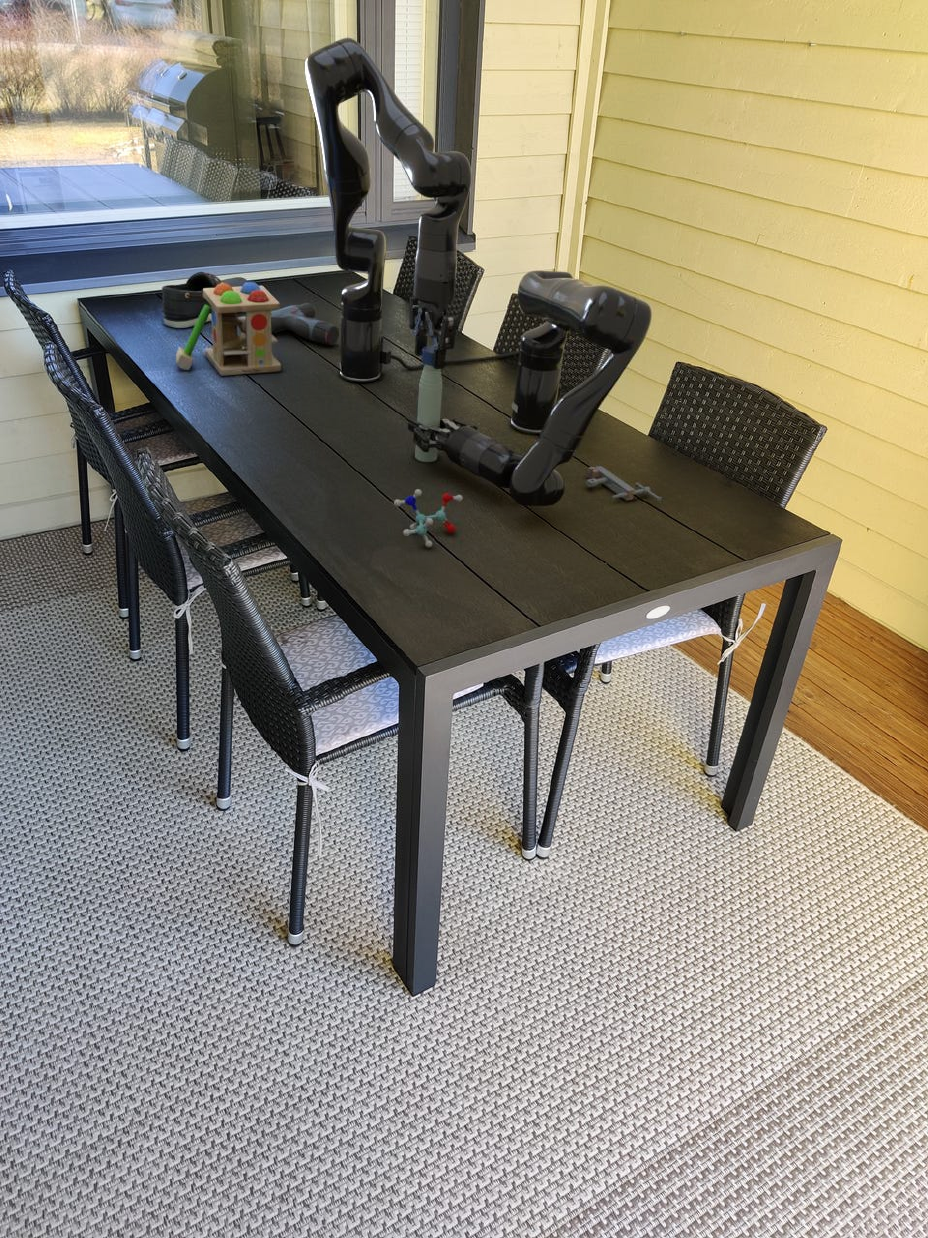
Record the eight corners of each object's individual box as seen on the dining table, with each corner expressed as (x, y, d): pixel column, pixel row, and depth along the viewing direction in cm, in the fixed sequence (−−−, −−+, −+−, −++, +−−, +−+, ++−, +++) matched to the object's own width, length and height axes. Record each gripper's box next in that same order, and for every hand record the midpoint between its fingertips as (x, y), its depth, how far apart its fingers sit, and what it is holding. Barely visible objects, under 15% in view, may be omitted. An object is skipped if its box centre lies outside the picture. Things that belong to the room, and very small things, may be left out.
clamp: (576, 469, 194) (616, 461, 198) (574, 479, 195) (614, 471, 199) (622, 503, 183) (664, 494, 188) (620, 513, 184) (661, 504, 189)
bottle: (411, 458, 197) (417, 352, 185) (420, 450, 200) (427, 346, 188) (431, 464, 196) (438, 357, 183) (440, 455, 199) (448, 351, 187)
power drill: (365, 313, 253) (305, 296, 261) (318, 330, 240) (256, 311, 248) (364, 334, 256) (305, 316, 264) (318, 351, 243) (257, 332, 251)
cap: (438, 367, 185) (439, 354, 183) (418, 363, 186) (419, 350, 184) (446, 361, 188) (447, 348, 187) (426, 356, 189) (427, 344, 188)
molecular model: (452, 541, 163) (433, 483, 162) (403, 556, 167) (383, 500, 165) (474, 530, 174) (456, 475, 172) (427, 544, 177) (409, 492, 176)
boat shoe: (271, 306, 270) (269, 267, 265) (181, 330, 246) (177, 288, 241) (236, 297, 276) (233, 259, 271) (146, 320, 252) (141, 279, 247)
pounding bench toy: (183, 379, 220) (176, 299, 210) (169, 357, 231) (162, 280, 221) (282, 371, 230) (280, 294, 220) (264, 350, 240) (262, 276, 230)
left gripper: (398, 262, 180) (394, 350, 190) (436, 285, 170) (430, 377, 180) (434, 260, 184) (428, 347, 193) (473, 282, 174) (465, 372, 183)
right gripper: (505, 426, 188) (447, 396, 198) (448, 442, 179) (391, 410, 189) (501, 462, 192) (445, 430, 202) (446, 479, 184) (390, 446, 194)
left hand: (429, 361), depth 186 cm, fingers open, 6 cm apart
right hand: (419, 421), depth 196 cm, fingers closed on bottle, 4 cm apart
